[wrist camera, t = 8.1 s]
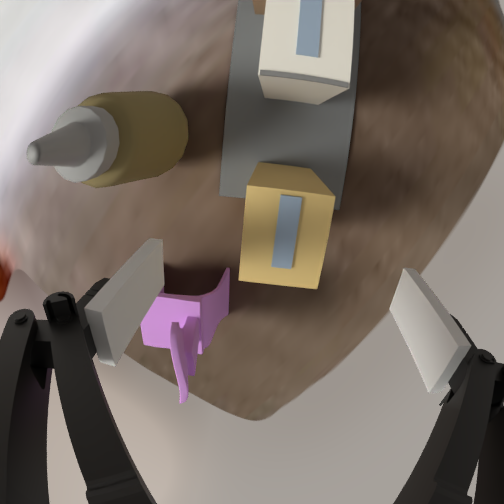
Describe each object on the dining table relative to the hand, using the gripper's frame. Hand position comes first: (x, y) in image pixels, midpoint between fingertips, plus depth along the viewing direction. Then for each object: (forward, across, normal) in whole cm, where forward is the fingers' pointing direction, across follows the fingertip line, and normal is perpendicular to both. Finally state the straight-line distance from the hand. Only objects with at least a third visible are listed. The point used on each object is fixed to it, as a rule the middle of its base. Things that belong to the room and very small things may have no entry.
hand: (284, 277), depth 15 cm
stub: (+15, 0, +1) cm, 15 cm away
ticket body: (+15, 0, +16) cm, 22 cm away
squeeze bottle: (+16, -13, +6) cm, 21 cm away
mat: (+15, 0, +12) cm, 20 cm away
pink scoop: (+15, -9, -11) cm, 21 cm away
